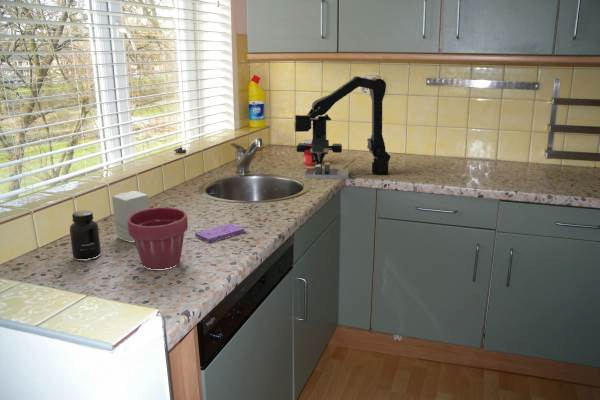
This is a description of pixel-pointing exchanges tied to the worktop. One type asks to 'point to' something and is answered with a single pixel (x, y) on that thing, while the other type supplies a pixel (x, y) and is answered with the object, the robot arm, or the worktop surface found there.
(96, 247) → the supplement bottle
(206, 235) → the sponges
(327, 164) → the breaker handle
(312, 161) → the canned food
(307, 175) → the breaker panel
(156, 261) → the plant pot
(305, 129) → the robot arm
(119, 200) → the supplement box
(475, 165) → the worktop surface
